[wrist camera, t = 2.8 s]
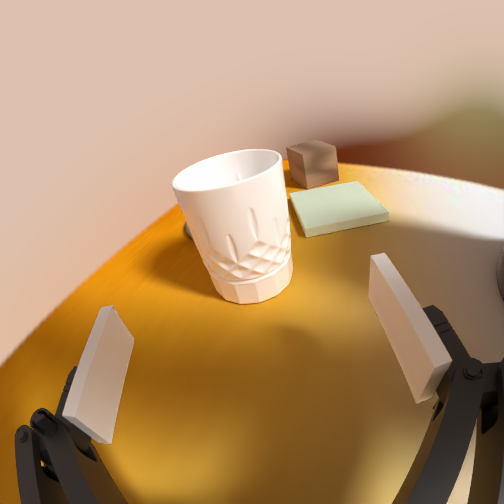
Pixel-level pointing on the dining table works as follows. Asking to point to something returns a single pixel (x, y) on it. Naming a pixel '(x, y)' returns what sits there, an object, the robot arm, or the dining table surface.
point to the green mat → (336, 208)
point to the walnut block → (313, 164)
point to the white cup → (239, 222)
